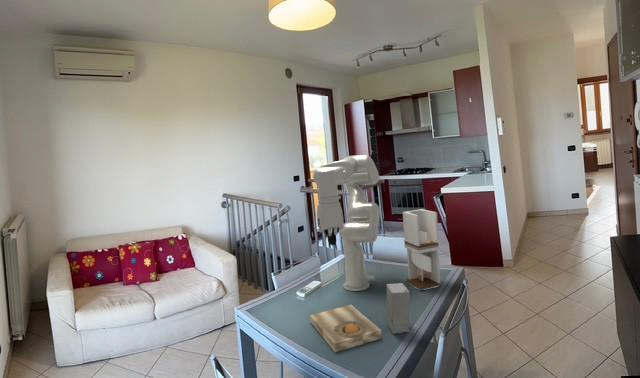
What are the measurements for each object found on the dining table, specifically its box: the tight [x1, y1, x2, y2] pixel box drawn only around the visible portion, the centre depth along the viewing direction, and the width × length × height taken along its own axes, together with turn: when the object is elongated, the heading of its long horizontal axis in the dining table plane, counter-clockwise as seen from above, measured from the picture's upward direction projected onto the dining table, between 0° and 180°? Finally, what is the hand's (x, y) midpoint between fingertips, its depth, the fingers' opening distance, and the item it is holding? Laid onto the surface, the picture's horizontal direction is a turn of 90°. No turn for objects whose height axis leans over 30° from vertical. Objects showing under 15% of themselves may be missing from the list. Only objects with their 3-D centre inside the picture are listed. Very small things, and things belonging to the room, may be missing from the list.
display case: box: [402, 208, 441, 290], centre depth 169 cm, size 11×11×35 cm
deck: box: [309, 304, 383, 353], centre depth 136 cm, size 18×24×3 cm
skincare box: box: [385, 282, 410, 335], centre depth 133 cm, size 8×7×16 cm
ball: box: [345, 324, 359, 334], centre depth 130 cm, size 5×5×5 cm
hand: (332, 244), depth 148 cm, fingers closed
